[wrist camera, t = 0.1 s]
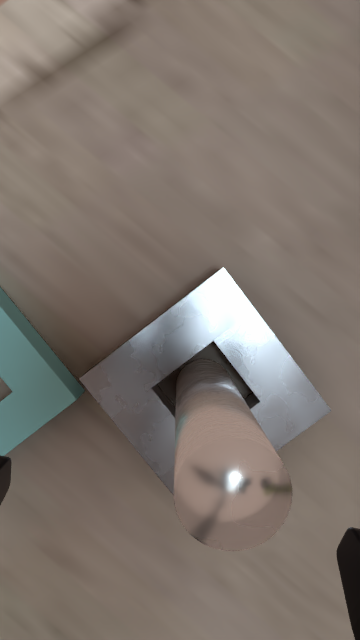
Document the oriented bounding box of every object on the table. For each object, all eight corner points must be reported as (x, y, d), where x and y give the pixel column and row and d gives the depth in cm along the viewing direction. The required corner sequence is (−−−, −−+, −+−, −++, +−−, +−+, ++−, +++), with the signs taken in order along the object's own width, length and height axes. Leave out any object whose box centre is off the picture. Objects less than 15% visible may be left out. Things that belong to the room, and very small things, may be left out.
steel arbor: (198, 423, 24) (221, 572, 11) (165, 381, 24) (149, 485, 11) (242, 391, 24) (315, 505, 11) (208, 348, 24) (245, 414, 11)
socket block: (188, 496, 25) (189, 514, 23) (87, 371, 24) (78, 378, 22) (318, 400, 24) (331, 410, 22) (219, 269, 23) (223, 267, 21)
